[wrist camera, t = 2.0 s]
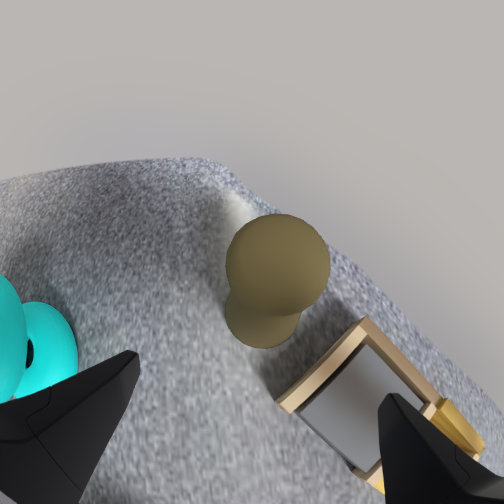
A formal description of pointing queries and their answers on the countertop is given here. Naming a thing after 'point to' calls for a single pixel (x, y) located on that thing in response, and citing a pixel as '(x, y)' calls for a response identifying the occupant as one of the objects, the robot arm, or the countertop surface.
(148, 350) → the countertop surface
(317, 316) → the countertop surface
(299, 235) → the olive brown pawn
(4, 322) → the donuts
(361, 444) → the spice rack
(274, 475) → the countertop surface
